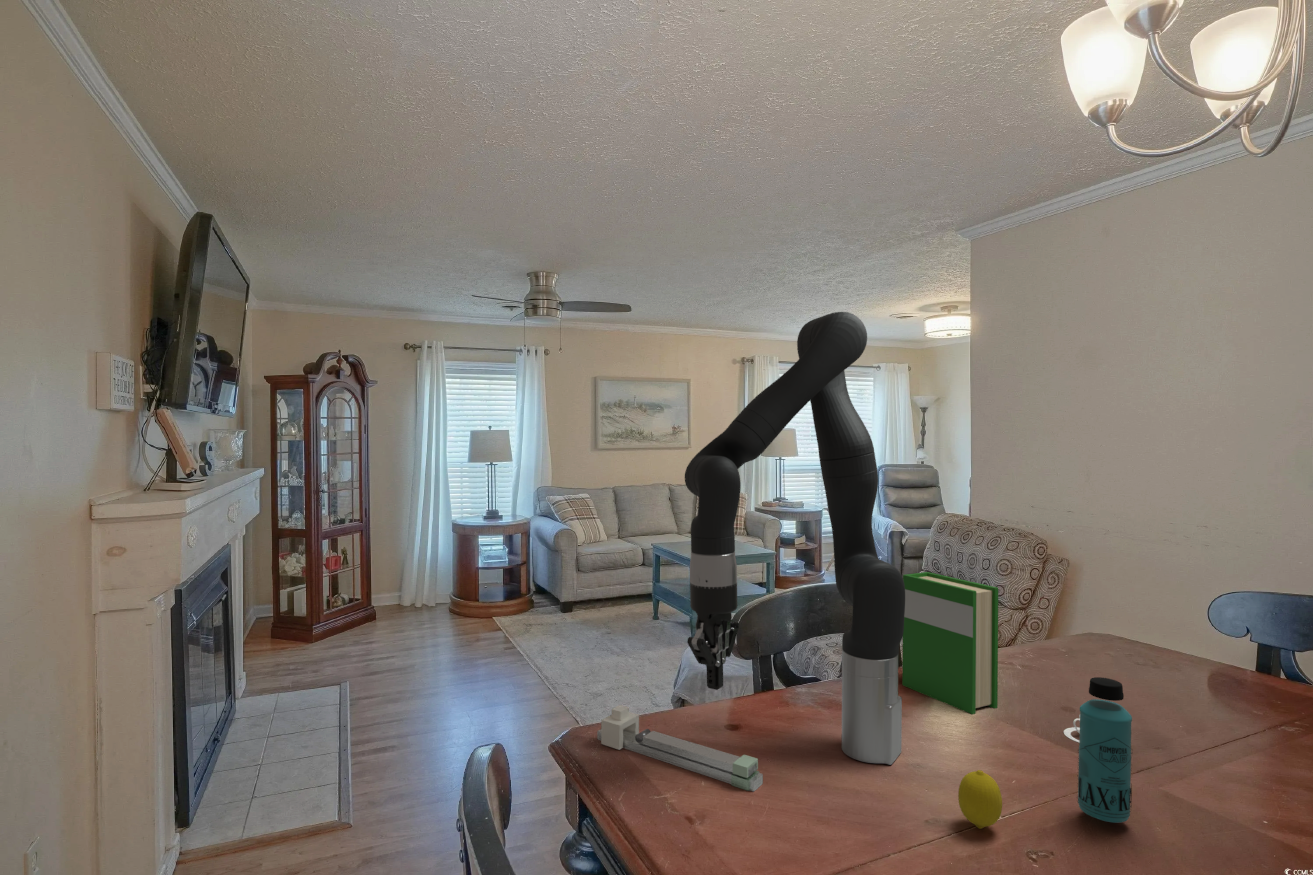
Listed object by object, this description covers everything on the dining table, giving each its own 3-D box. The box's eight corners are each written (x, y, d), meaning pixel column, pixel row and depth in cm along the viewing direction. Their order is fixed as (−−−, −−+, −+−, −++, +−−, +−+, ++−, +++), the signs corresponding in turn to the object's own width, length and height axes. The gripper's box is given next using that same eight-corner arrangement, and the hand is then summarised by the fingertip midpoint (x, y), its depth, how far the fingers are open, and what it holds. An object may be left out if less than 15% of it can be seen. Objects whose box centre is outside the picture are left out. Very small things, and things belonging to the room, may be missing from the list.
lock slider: (601, 743, 122) (601, 710, 122) (621, 732, 126) (621, 700, 126) (619, 749, 119) (619, 716, 119) (638, 738, 124) (639, 705, 124)
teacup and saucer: (1116, 735, 127) (1116, 713, 127) (1124, 753, 120) (1125, 730, 120) (1061, 726, 131) (1061, 705, 131) (1066, 744, 124) (1066, 721, 124)
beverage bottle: (1066, 809, 101) (1067, 672, 101) (1109, 807, 102) (1110, 671, 102) (1098, 835, 95) (1099, 689, 95) (1144, 833, 95) (1145, 687, 95)
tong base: (596, 739, 124) (596, 722, 124) (609, 732, 127) (609, 715, 127) (752, 792, 106) (753, 771, 106) (763, 782, 109) (763, 762, 109)
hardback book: (997, 707, 139) (998, 587, 139) (972, 714, 136) (973, 591, 136) (926, 679, 155) (927, 571, 155) (902, 685, 151) (903, 574, 151)
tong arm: (641, 744, 118) (641, 734, 118) (654, 736, 121) (654, 727, 121) (747, 777, 106) (747, 767, 106) (757, 768, 109) (757, 758, 109)
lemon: (1007, 841, 93) (1007, 782, 93) (963, 836, 94) (963, 777, 94) (995, 819, 99) (996, 763, 99) (954, 814, 100) (954, 759, 100)
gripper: (712, 590, 104) (714, 706, 104) (753, 574, 115) (755, 679, 115) (670, 585, 108) (672, 696, 108) (713, 570, 119) (715, 671, 119)
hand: (715, 687), depth 112 cm, fingers closed
